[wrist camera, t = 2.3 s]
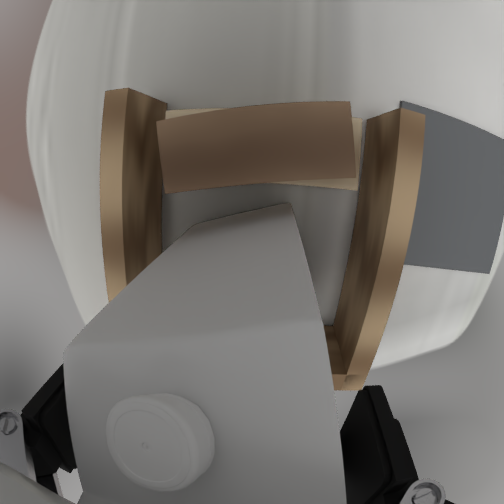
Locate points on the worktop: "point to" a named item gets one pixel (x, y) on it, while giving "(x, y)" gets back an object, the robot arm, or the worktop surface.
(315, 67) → the worktop surface
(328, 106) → the offcut upper
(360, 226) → the rack
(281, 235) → the milk carton
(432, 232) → the mat
